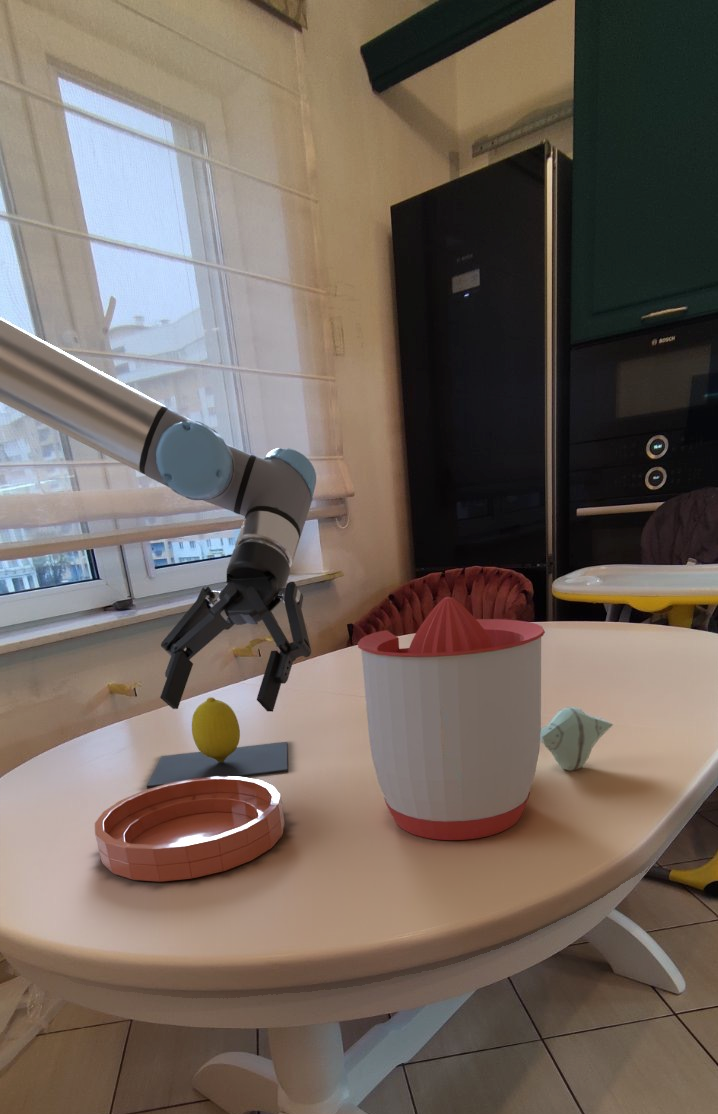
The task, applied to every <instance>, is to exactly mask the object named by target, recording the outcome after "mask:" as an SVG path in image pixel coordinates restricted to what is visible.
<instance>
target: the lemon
mask: <svg viewBox="0 0 718 1114" xmlns="http://www.w3.org/2000/svg"><path fill="white" fill-rule="evenodd" d="M191 734H192V739H193V742H194V744H195V746H196V748H197V749H198V750H199V752H202V753H203V754H204V755H205V756H207V757H210V758H214V759H215V760H217V761H218V762H224V760H225V759H226V757H227V756H229V755H230V754H232V753H233V752H234V751H235V749H236V748H238V747H239V746H238V745H239V743H240V738H241V730H240V725H239V721H238V718H237V715H236V713H235V711H234V710H233V708H232V707H231V706H230V705H229V704H227V703H226V702H224V701H223V700H219V699H216V698H215V697H212V696H211V697H207V699H206V700H205V701H203V702H202V703H200V704H199V705H198V706H197V707H196V709H195V710H194V712H193V715H192V718H191Z"/></svg>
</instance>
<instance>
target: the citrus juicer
mask: <svg viewBox="0 0 718 1114" xmlns="http://www.w3.org/2000/svg"><path fill="white" fill-rule="evenodd" d="M545 633H546V632H545V629H544V627H543V626H542V625H540V624H538V623H534V622H530V621H524V620H517V619H516V620H515V619H503V618H501V619H500V618H475V616H473V614H472V613H471V612H470V611H469V610H468V609H467V608H466V607H465V606H464V605H463V604H462V603H460V602H459V601H458V600H456V599H455V598H454V597H452V596H446V597H444V598H442V599H441V600H440V601H439V602H438V603H437V604H436V605H435V606H434V607H433V609H432V610H431V611H430V612H429V613H428V615H426V617H425V619H424V620H423V622H422V623H420V626H419V627H418V629H417V631H416V632H415V634H414V637H413V638H412V640H411V642H410V645H409V647H403V648H400V641H399V639H400V638H399V637H398V636H396V635H395V634H393V633H392V632H390V631H389V630H387V629H384V630H380V631H375V632H372V633H370V634H367V635H365V636H363V637H362V638H360V639H359V640H358V642H357V648H358V649H359V650H361V660H362V661H361V662H362V672H363V673H362V674H363V685H364V695H365V696H364V697H365V707H366V719H367V730H368V739H369V747H370V753H371V759H372V763H373V766H374V770H375V774H376V778H377V781H378V784H379V787H380V789H381V792H382V794H383V799H384V802H385V805H386V807H387V809H388V810H389V813H390V814H391V817H392V818H393V820H394V822H395V824H397V825H398V827H399V828H401V829H402V830H403V831H405V832H407V833H410V834H412V835H414V836H418V837H421V838H426V839H431V840H440V841H441V840H442V841H464V840H465V841H466V840H475V839H481V838H485V837H489V836H493V835H496V834H499V833H501V832H504V831H506V830H508V829H510V828H511V827H513V826H514V825H516V823H518V821H519V820H520V818H521V816H522V814H523V812H524V809H525V808H526V804H527V803H528V801H529V797H530V794H531V791H530V790H531V787H532V784H533V781H534V778H535V774H536V772H537V771H536V770H537V766H538V760H539V756H540V755H539V754H540V749H541V740H540V734H541V728H542V637H543V636H544V635H545Z"/></svg>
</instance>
